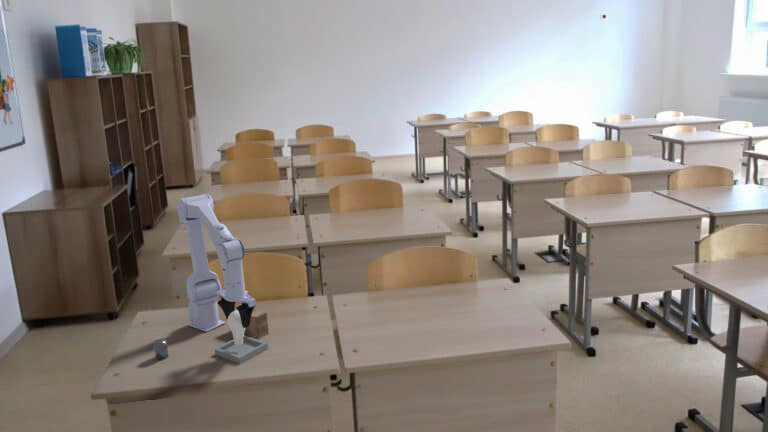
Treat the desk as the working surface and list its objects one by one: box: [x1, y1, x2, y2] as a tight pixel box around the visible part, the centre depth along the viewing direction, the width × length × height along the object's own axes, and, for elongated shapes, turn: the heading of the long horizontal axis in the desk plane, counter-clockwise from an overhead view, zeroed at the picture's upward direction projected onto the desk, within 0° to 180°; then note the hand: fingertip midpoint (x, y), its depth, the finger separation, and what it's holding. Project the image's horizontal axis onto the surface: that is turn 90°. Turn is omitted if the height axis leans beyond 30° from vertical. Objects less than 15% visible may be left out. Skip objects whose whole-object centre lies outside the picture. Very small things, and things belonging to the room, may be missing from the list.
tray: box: [214, 334, 269, 365], centre depth 189 cm, size 11×11×2 cm
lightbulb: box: [226, 310, 246, 346], centre depth 186 cm, size 6×6×11 cm
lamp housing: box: [235, 307, 269, 339], centre depth 201 cm, size 12×5×7 cm, turn 54°
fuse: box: [153, 338, 170, 361], centre depth 187 cm, size 4×4×5 cm
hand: (238, 324), depth 186 cm, fingers closed on lightbulb, 6 cm apart
